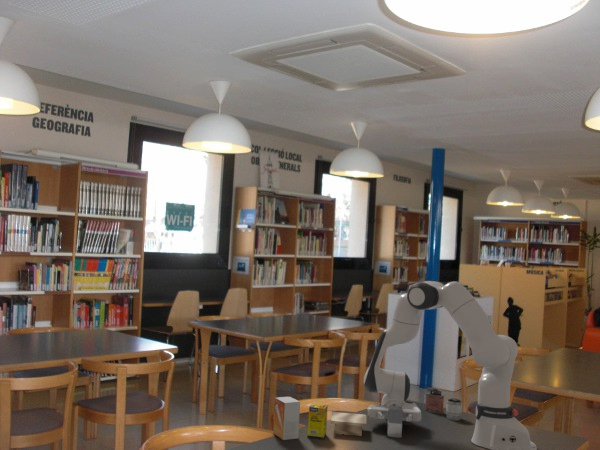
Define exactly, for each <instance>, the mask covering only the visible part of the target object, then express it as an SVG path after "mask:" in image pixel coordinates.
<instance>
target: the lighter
mask: <svg viewBox="0 0 600 450" xmlns="http://www.w3.org/2000/svg"><path fill="white" fill-rule="evenodd" d="M427 391H428V392H425V408H424V411H425V412H427V413H428V412H429V413H432V414H433V413H434V414H439V415H442V414H444V401H445V395H443V394H442V393H443V391H442V390H441V389H439V388H434V387H433V388H432V387H427Z"/></svg>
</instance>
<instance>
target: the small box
mask: <svg viewBox="0 0 600 450" xmlns="http://www.w3.org/2000/svg"><path fill="white" fill-rule="evenodd" d="M273 413H274V415H273V429H272V430H273V431H272V434H273V435H275V436H276V437H279V439H281V440H283V441H285V440H296V439H299V431H300V430H299V429H300V428H299V427H300V415H301V414H300V413H301V401H299V400H297V399H296V398H293V397H292V396H280V397H275V398H274V412H273Z"/></svg>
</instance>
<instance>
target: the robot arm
mask: <svg viewBox="0 0 600 450" xmlns="http://www.w3.org/2000/svg"><path fill="white" fill-rule="evenodd" d="M440 308H445V310H446V311H447V313H448V314H449V315H450V317H451V318H452V319H453V321H454V322H455V323H456V325H457V327H459V329H460V330H461V332H462V333H463V335H464V337H465V338H466V341H467V343H468V345H469V347H470V349H471V355H472V359H473V361H474V362H475V364H476V365H478V366H480V367H482V370H481V374H480V378H479V379H478V386H477V390H478V391H477V401H476V404H475V405H476V406H475V425H474V430H473V434H472V438H471V439H470V441H471V443H473V444H474V445H476V446H479V447H481V448H484V449H488V450H538V448H537V444H535V443H534V442H533V441H531V437H530V436H531V435H530V432H529V429H528V428H526V426H524V425H523V424H522V423H521V422H520V421H519V420H518V418H516V417H517V416H518V415H519V411H518V410H517V409H515V408H514V407H512V406H510V399H511V397H510V396H511V382H512V377H513V373H514V369H515V362H516V358H517V355H518V353H519V348H518V347H519V346H518V344H517V342H516V341H515V340H514V339H513V338H512V337H510V336H508V335H506V334H497V333H496V332H495V330H494V328H493V327H492V324H491V322H490V319H489V315H488V314H487V313H486V311H485V309H483V307H482V306H481V304H479V302H478V301H477V300H476V299H475V297H474V295H473V294H472V293H471V292H470V291H469V290H468V289H467V288H466V287H465V286H464V285H462V284H461V282H458V281H450V282H447V283H445V282H442V281H438V280H437V281H436V280H435V281H433V280H425V281H421V282H420V281H419V282H418V281H417V282H416V283H414V284H412V285H411V286H410V287H409V288H408V290H407V292H406V293H402V294H401V295H400V296H399V297H398V298H397V301H396V304H395V306H394V309H393V310H394V311H393V314H392V320H391V322H390V324H389V326H388V327H387V328H385V329H383V330H382V331H381V334H380V335H379V338H378V340H377V342H376V345H375V348H374V352H373V354H372V357H371V359H370V363H369V365H368V367H367V369H366V370H365V371H366V372H365V374H364V376H363V386H364V388H365V389H366V390H367V391H368V392H370V393H375V394H377V393H380V394H384V395H383V396H382V398H381V404H380V405H379V404H370V405H368V407H366V411H367V417H368V418H370V419H379V420H382V421H385V420H387V421H388V406H397V407H402V409H403V417H402V422H403V421H404V422H408V423H410V422H416V423H421V422H422V410H421V409H420V407H418V405H417V404H416V402H412V401H407V400H408V399H409V396H410V390H411V380H410V378H409V376H408V374H407V373H406V372H403V371H400V370H399V371H398V370H391V369H386V368H382V367H381V363H382V361H383V358H384V355H385V353H386V351H387V349H389V348H390V347H394V346H397V345H402V344H406V343H409V342H411V341H413V340H414V339H415V338H417V336H418V334H419V330H420V325H421V319H422V314H423V312H425V310H436V309H440Z"/></svg>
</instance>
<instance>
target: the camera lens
mask: <svg viewBox="0 0 600 450" xmlns="http://www.w3.org/2000/svg"><path fill="white" fill-rule="evenodd" d="M445 408H446V409H445V414H446V419H448V420H450V421H461V419H462V411H463V402H462V400H460V399H457V398H449V399H447V400H446V407H445Z"/></svg>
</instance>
